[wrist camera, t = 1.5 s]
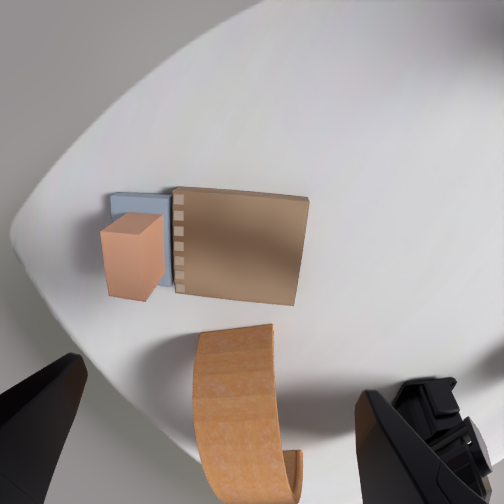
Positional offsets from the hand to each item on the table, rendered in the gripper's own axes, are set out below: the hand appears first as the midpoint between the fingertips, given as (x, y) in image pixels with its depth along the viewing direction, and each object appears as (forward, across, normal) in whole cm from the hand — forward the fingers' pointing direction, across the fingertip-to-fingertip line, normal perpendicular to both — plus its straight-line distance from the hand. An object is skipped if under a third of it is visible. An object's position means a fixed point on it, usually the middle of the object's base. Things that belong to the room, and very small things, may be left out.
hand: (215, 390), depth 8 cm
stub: (+12, +7, +1) cm, 14 cm away
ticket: (+12, 0, +1) cm, 12 cm away
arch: (+12, -3, +17) cm, 21 cm away
